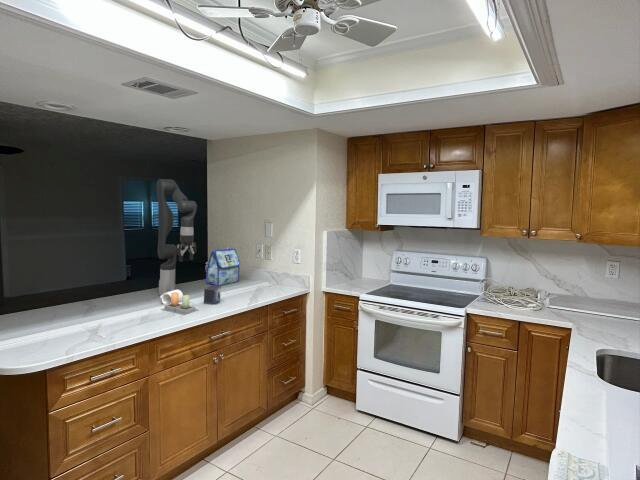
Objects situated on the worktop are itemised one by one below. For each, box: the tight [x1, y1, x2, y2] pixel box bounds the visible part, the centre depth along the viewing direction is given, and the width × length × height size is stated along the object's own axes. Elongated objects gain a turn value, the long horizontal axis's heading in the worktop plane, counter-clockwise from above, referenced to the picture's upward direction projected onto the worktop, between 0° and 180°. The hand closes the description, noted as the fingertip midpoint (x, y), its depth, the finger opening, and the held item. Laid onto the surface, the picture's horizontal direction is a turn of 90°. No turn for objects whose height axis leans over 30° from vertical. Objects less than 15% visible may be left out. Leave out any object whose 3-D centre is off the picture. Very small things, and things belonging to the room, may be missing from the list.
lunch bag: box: [205, 248, 241, 286], centre depth 305 cm, size 22×17×26 cm
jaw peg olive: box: [181, 294, 190, 310], centre depth 227 cm, size 4×4×9 cm
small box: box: [203, 284, 221, 306], centre depth 248 cm, size 11×6×10 cm, turn 168°
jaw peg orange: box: [170, 292, 180, 307], centre depth 231 cm, size 4×4×9 cm
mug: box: [159, 289, 184, 305], centre depth 244 cm, size 12×10×8 cm
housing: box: [160, 303, 199, 316], centre depth 229 cm, size 18×12×3 cm, turn 65°
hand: (186, 260), depth 242 cm, fingers open, 8 cm apart
